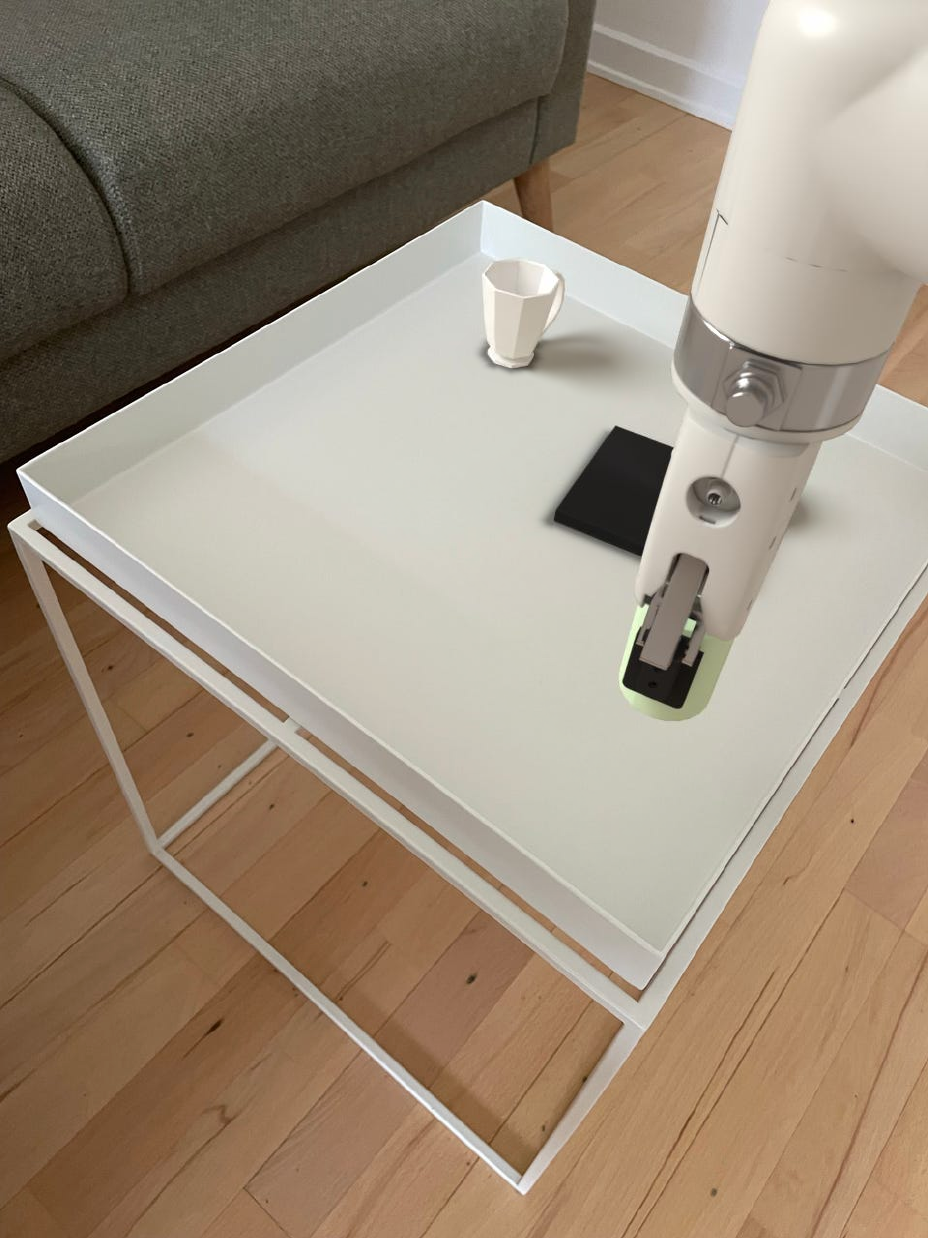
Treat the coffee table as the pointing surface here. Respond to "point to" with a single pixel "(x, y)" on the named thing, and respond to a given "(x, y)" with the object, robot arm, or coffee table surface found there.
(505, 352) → the cup
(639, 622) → the candle
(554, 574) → the coffee table surface
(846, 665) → the coffee table surface
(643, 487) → the scale
